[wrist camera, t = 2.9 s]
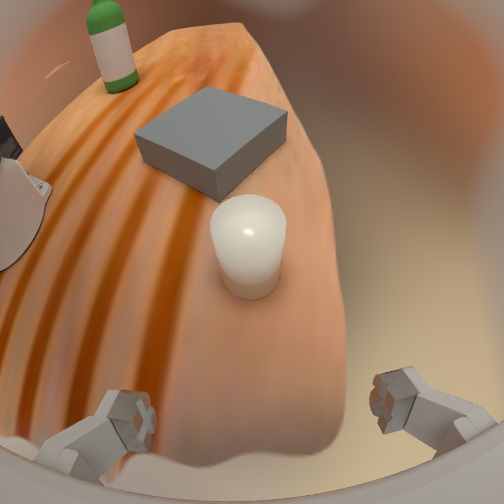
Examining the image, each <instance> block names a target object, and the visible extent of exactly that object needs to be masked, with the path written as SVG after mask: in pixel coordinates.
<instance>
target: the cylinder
mask: <svg viewBox="0 0 504 504" xmlns="http://www.w3.org/2000/svg"><path fill="white" fill-rule="evenodd" d="M286 226H287V225H286V218H285V215H284V213H283V211H282V210H281V208H280V207H279V206H278V205H277V204H276V203H275V202H273V201H272V200H270V199H268V198H266V197H263V196H259V195H252V194H246V195H239V196H235V197H232V198H230V199H228V200H226V201H225V202H223V203H222V204H221V205H219V206H218V208H217V209H216V210H215V211H214V213H213V215H212V217H211V220H210V232H211V236H212V240H213V244H214V248H215V252H216V256H217V260H218V264H219V268H220V272H221V275H222V279H223V282H224V285H225V287H226V288H227V290H228V291H229V292H230V293H231V294H233V295H234V296H236V297H238V298H241V299H245V300H257V299H260V298H263V297H265V296H267V295H269V294H270V293H271V292H272V291H273V290H274V289H275V287H276V286H277V284H278V281H279V277H280V270H281V263H282V256H283V249H284V241H285V234H286Z"/></svg>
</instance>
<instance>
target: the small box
mask: <svg viewBox="0 0 504 504" xmlns="http://www.w3.org/2000/svg"><path fill="white" fill-rule="evenodd" d="M22 151H23V149H22V148H21V146H20V145H19V143H18V142H17V140H16V139H15V137H14V135H13V134H12V132H11V130H10V129H9V127H8V125H7V123H6V121H5V119H4V117H3V116H0V152H1V154H2V157H3V158H7V159H13V160H16V159H17V158H18V157H19V155H20V154H21V153H22Z"/></svg>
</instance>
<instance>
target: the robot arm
mask: <svg viewBox="0 0 504 504" xmlns="http://www.w3.org/2000/svg"><path fill="white" fill-rule="evenodd" d="M51 191H52V187H51V185H50V184H49V183H47V182H45V181H43V180H40V179H38V178H36V177H34V176H31V175H29V174H28V173H27V172H26V171H25V170H24V168H23V167H22V166H21V164H20V163H19V162H18V160H13V159H7V158H3V157H2V154H1V152H0V271H1V270H4V269H6V268H7V267H9V266H10V265H11V264H13V263H14V262H15V261H16V260H17V259H18V258H19V257H20V256H21V255H22V254H23V252H24V251H25V250H26V249H27V247H28V246H29V244H30V243H31V241H32V240H33V238H34V236H35V235H36V233H37V231H38V228H39V226H40V224H41V221H42V218H43V213H44V207H45V203H46V201H47V199H48V197H49V195H50V193H51ZM373 385H374V386H375V388H374V389H373V390H372V391H371V393H370V398H369V401H370V408H371V411H372V413H373V415H375V416H377V417H379V419H378V425H379V427H380V429H381V431H382V433H383V434H388V433H391V432H395V431H398V430H402V429H404V431H406V432H408V433H409V434H411V435H413V436H414V437H416V438H417V439H419V440H420V441H422V442H424V443H425V444H427V445H428V446H430V447H432V448H433V449H435V450H437V452H436V454H435V456H434V457H433V459H432V460H430V461H427V462H425V463H422V464H420V465H418V466H415V467H412V468H410V469H407V470H405V471H402V472H399V473H396V474H393V475H390V476H387V477H384V478H381V479H377V480H374V481H371V482H367V483H364V484H360V485H356V486H352V487H348V488H344V489H339V490H335V491H330V492H325V493H320V494H314V495H307V496H301V497H293V498H284V499H274V500H261V501H239V502H238V501H237V502H218V501H194V500H182V499H172V498H163V497H157V496H150V495H144V494H138V493H133V492H127V491H123V490H119V489H114V488H110V487H106V486H104V485H103V484H102V483H101V481H100V480H99V479H98V477H100V476H101V475H102V474H103V473H104V472H105V471H107V470H108V469H109V468H110V467H111V466H112V465H113V464H115V463H116V462H117V461H118V460H119V459H120V458H121V457H122V456H124V455H125V454H126V453H127V451H133V452H142V453H149V450H150V447H151V443H152V438H151V436H150V435H151V434H152V433H154V432H155V430H156V426H157V417H156V412H155V410H154V408H153V407H152V406H150V405H149V404H150V401H151V399H150V396H149V394H148V393H146V392H138V391H129V390H118V389H109V390H107V392H106V394H105V396H104V397H103V399H102V401H101V403H100V405H99V407H98V408H97V410H96V412H95V414H94V416H91V415H90V416H88V417H86V418H85V419H83V420H81V421H79V422H78V423H76V424H74V425H72V426H70V427H69V428H67V429H65V430H63V431H61V432H60V433H58V434H56V435H54V436H52V437H50V438H49V439H47V440H45V442H44V444H43V445H42V447H41V449H40V450H39V452H38V454H37V456H36V457H35V459H34V461H31V460H29V459H26V458H24V457H22V456H20V455H18V454H16V453H14V452H12V451H10V450H8V449H6V448H4V447H2V446H0V504H504V421H502V422H500V423H499V424H498V423H496V421H495V420H494V419H493V418H492V417H491V415H490V414H489V413H488V412H487V411H486V409H485V408H484V407H483V406H481V405H478V404H475V403H473V402H470V401H467V400H464V399H461V398H459V397H456V396H453V395H450V394H448V393H445V392H442V391H440V390H437V389H431V388H430V387H429V386H428V384H427V383H426V382H425V381H424V379H423V378H422V377H421V376H420V375H419V373H418V372H417V371H416V370H415V368H414V367H412V366H408V367H404V368H401V369H398V370H394V371H390V372H386V373H382V374H377V375H375V377H374V380H373Z"/></svg>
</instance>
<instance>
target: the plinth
mask: <svg viewBox="0 0 504 504" xmlns="http://www.w3.org/2000/svg"><path fill="white" fill-rule="evenodd" d="M287 114H288V111H286V110H283V109H280V108H277V107H275V106H272V105H269V104H266V103H263V102H260V101H256V100H253V99H250V98H247V97H243V96H240V95H237V94H233V93H230V92H226V91H222V90H219V89H215V88H211V87H205V88H203V89H202V90H200V91H198V92H196V93H195V94H193V95H191V96H190V97H188V98H186V99H185V100H183V101H181V102H180V103H178V104H177V105H175V106H173V107H172V108H170V109H169V110H167V111H166V112H164V113H163V114H161V115H159V116H158V117H156V118H155V119H154V120H152V121H151V122H149V123H148V124H146V125H145V126H143V127H142V128H141V129H139V130H138V131H136V132H135V133H134V136H135V139H136V142H137V144H138V147H139V150H140V153H141V155H142V158H143V161H144V162H146V163H148V164H150V165H151V166H153V167H155V168H157V169H159V170H161V171H163V172H165V173H166V174H168V175H170V176H172V177H174V178H176V179H177V180H179V181H181V182H183V183H185V184H187V185H188V186H190V187H192V188H194V189H196V190H198V191H199V192H201V193H203V194H205V195H207V196H208V197H210V198H212V199H214V200H216V201H217V202H219V203H220V202H221V201H222V200H223V199H224V198H225V197H226V196H227V195H228V194H229V193H230V192H231V191H232V190H233V189H234V188H235V187H236V186H237V185H238V184H240V183H241V182H242V181H243V180H244V179H245V178H246V177H247V176H248V175H249V174H250V173H251V172H252V171H253V170H254V169H255V168H256V167H258V166H259V165H260V164H261V163H262V162H263V161H264V160H265V159H266V158H267V157H268V156H269V155H271V154H272V153H273V152H274V151H275V150H276V149H277V148H278V147H279V146H280V145H282V144H283V143H284V142H285V141H286V129H287Z"/></svg>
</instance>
